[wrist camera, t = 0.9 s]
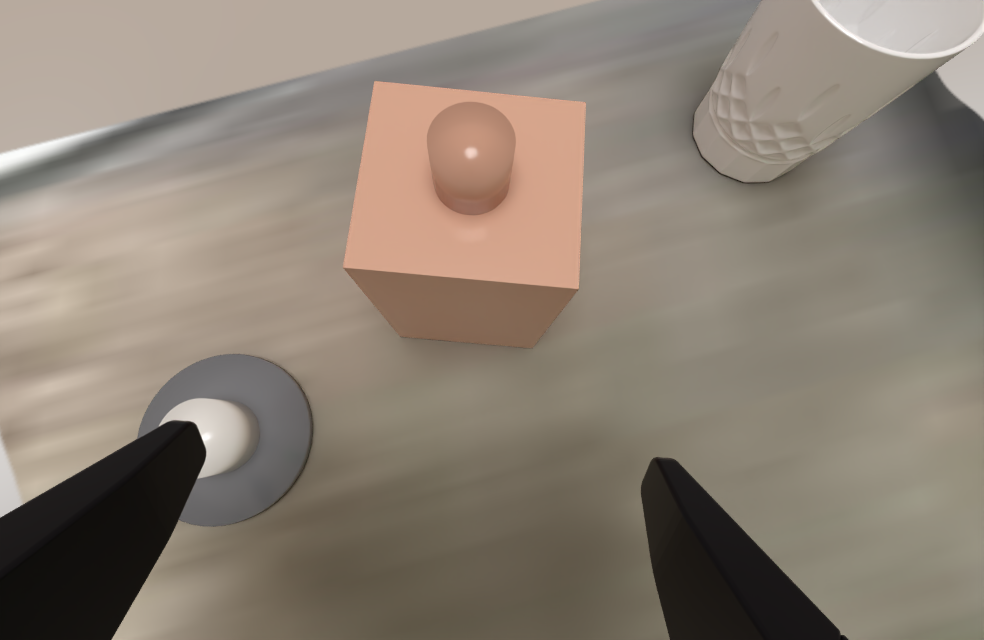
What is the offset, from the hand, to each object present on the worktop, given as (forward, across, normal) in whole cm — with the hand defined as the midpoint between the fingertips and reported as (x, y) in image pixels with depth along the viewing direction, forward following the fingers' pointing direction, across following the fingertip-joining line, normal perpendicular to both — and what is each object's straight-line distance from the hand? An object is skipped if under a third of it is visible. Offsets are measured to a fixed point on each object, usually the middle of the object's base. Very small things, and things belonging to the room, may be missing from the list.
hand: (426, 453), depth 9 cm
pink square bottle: (+15, 0, +4) cm, 16 cm away
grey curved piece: (+9, +11, +11) cm, 18 cm away
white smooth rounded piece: (+9, +11, +10) cm, 17 cm away
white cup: (+24, -16, -3) cm, 29 cm away
